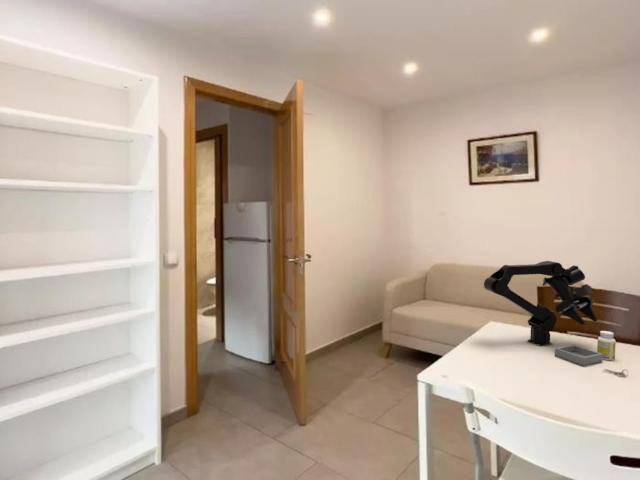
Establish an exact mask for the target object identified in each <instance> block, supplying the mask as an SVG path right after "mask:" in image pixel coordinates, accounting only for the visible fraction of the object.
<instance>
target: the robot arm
mask: <svg viewBox="0 0 640 480" xmlns="http://www.w3.org/2000/svg"><path fill="white" fill-rule="evenodd" d="M518 275H519V276H521V275H522V276H523V275H524V276H526V275H543V276H548V277H543V279H542V280H543V281H542V287H544V286H547V285H548V286H549V288H551V289H552V291H553V292H554V293H555V294H556V295H555V298H559V299H560V302H558V303H557V304H556V305H555V306H554V309H555V311H556V312H557V314H559V313H560V315H563V316H566V317H567V318H569V319H571V320H573V321H575V322H576V323H578V324H580V325H583V326H584V325H585V324H586V322H585V320H584V319H583V317H582V316H581V314H583V315H585V316H586V317H587V318H588V319H589V320H592V321H593V322H594V323H595V322H597V321H598V318H597V316H596V314H595V311H594V309H593V304H594V301H595V298H594V297H592V295H593V290H594V288H593V287H592V286H591V285H589V284H582V285H581V287H578V288H575V287H574V286H573V285H575V284H578V283H579V282H580V283H581V282H582V281H584V280H585V278H586V276H585V273H584V272H583V271H582V270H581V269H580V268H579V266H578V265H575V264H574V265H572V266H569V267H568V268H564V267H563V265H562V264H561V263H560V262H556V261H550V260H545V261H540V262H538V263H535V264H532V263H531V264H511V265H508V264H504V265H502V266H501V267H500V268H499V269H498V270H496V271H495V272H494V273H492V274H491V275H490V276H488V277H487V278H485V280H484V282H483V288H484V289H485V290H487V291H489V292H491V293H493V294H496V295H498V296H501V297H503V298H504V299H506V300H508V302H511V303H512V304H514V305H516V306H517V307H519V308H520V309H522V310H524V311H525V312H526V313H528V314H529V316H530V317H529V319H528V320H527V324H528V326H530V337H529V339H527V342H529V343H532V344H535V345H537V346H540V347H542V346H548V345H552V343H553V342H551V333H550V332H553V330H554V327H555V325H556V323H557V317H558V316H557V315H556V314H555V311H552V310H550V309H549V308H548V307H547V306H543V305H540V304H538V303H537V304H536V305H534V304H533V303H532V302H530V301H528V300H527V299H525V298H524V297H522V296H521V295H518V294H517V293H516V292H515V291H513V290H511V288H510V287H509V285H510V282H511V280H512V278H513V276H518ZM577 309H578V310H577ZM578 311H579V312H580V313H581V314H580V313H579V312H578Z"/></svg>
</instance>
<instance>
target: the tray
mask: <svg viewBox="0 0 640 480" xmlns="http://www.w3.org/2000/svg"><path fill="white" fill-rule="evenodd" d="M554 357H556V358H558V359H562V360H564V361H567V362H570V363H573V364H575V365H577V366H580V367H587V366H592V365H597V364H601V363H603V360H604V359H603V354H601V353H598V352H597V351H594V350H591V349H589V348H586V347H583V346H580V345H577V344H571V345H565V346H559V347H555V348H554Z"/></svg>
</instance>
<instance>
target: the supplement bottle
mask: <svg viewBox="0 0 640 480" xmlns="http://www.w3.org/2000/svg"><path fill="white" fill-rule="evenodd" d="M599 334H600V336H598V337H597V345H596V346H597V347H596V352H598V353H601V354H603V360H606V361H614V360H615V358H616V347H617V345H616V344H617V343H616V339H615V338H614V335H615V333H614V332H612V331H609V330H600V331H599Z"/></svg>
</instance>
